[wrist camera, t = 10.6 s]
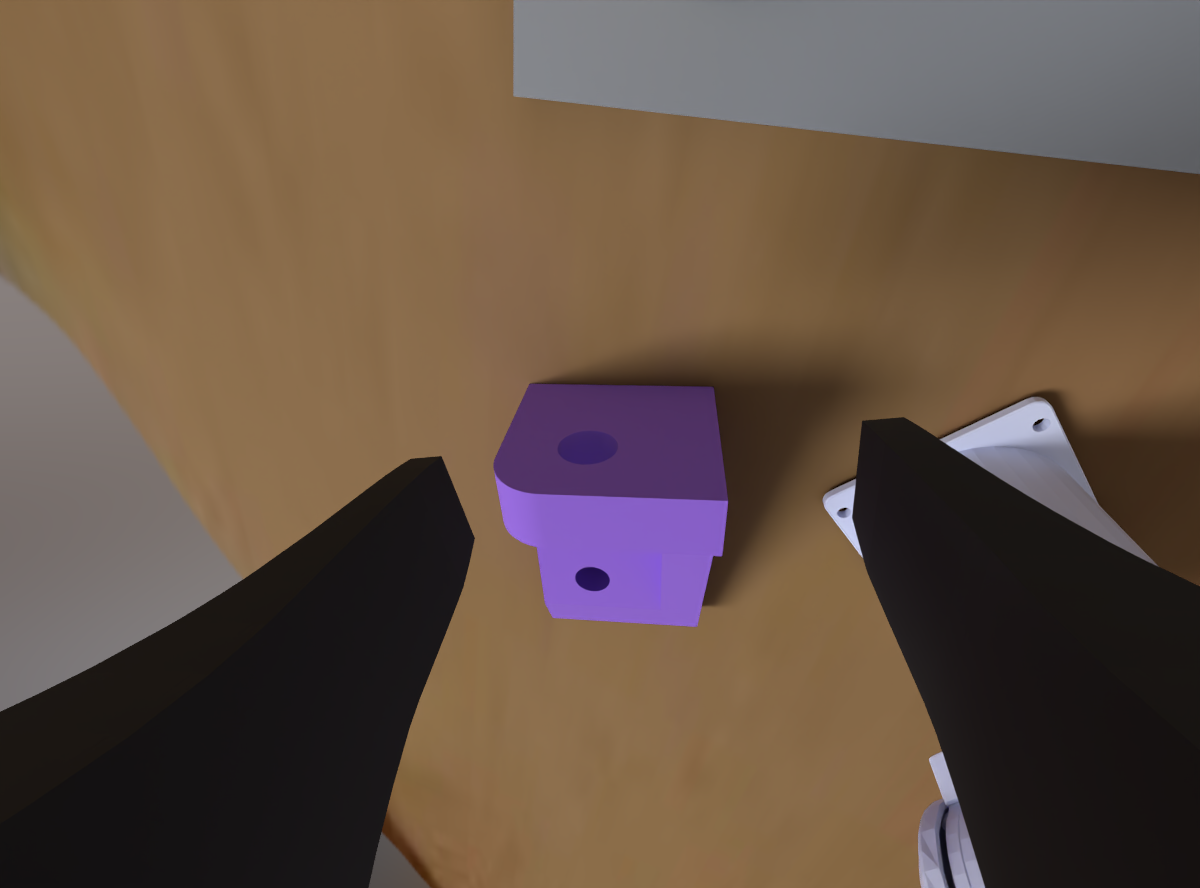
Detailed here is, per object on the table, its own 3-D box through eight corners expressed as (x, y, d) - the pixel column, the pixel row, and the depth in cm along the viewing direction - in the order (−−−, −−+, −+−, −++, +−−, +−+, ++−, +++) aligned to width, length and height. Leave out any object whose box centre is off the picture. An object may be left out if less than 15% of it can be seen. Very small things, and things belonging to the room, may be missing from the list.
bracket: (531, 379, 21) (479, 491, 15) (712, 382, 20) (728, 501, 15) (558, 592, 28) (528, 725, 22) (696, 600, 27) (701, 740, 21)
